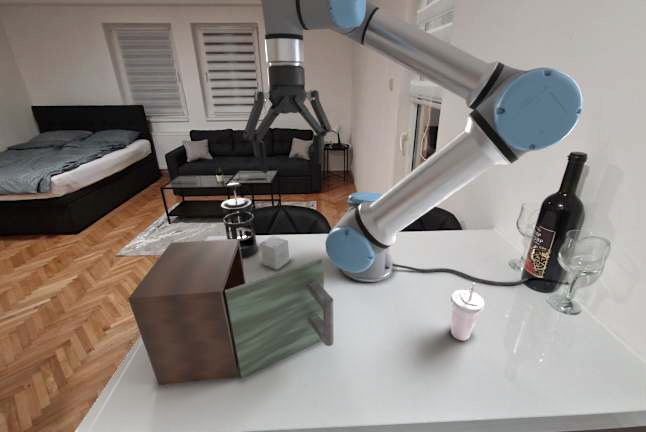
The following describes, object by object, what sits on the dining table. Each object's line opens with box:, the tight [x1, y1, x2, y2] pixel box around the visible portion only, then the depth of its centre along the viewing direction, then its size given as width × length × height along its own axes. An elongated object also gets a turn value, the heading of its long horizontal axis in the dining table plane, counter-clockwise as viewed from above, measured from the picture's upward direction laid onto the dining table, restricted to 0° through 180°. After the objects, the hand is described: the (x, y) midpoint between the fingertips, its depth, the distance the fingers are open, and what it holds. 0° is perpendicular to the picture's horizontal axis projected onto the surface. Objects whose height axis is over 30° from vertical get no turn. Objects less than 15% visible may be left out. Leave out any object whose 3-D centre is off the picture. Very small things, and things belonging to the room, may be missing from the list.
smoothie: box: [450, 282, 485, 342], centre depth 64 cm, size 6×6×14 cm
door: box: [225, 258, 335, 379], centre depth 55 cm, size 8×18×20 cm, turn 122°
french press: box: [220, 182, 259, 259], centre depth 95 cm, size 12×9×23 cm
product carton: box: [259, 235, 291, 271], centre depth 91 cm, size 6×6×7 cm
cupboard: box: [127, 239, 247, 386], centre depth 60 cm, size 14×18×20 cm
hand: (292, 167), depth 70 cm, fingers open, 13 cm apart
